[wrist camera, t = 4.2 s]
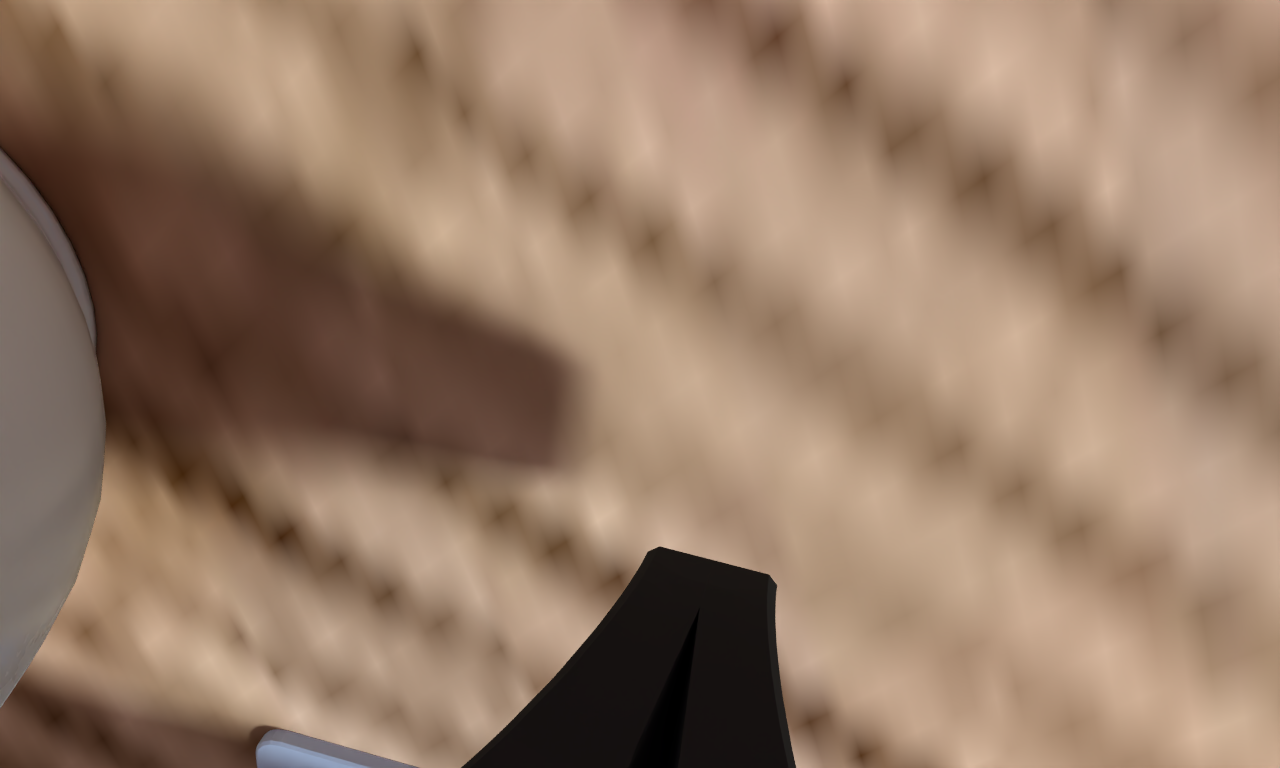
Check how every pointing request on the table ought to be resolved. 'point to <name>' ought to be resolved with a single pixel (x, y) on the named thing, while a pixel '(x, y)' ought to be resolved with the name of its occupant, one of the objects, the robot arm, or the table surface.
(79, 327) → the lidded jar
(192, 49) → the table surface
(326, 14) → the table surface
